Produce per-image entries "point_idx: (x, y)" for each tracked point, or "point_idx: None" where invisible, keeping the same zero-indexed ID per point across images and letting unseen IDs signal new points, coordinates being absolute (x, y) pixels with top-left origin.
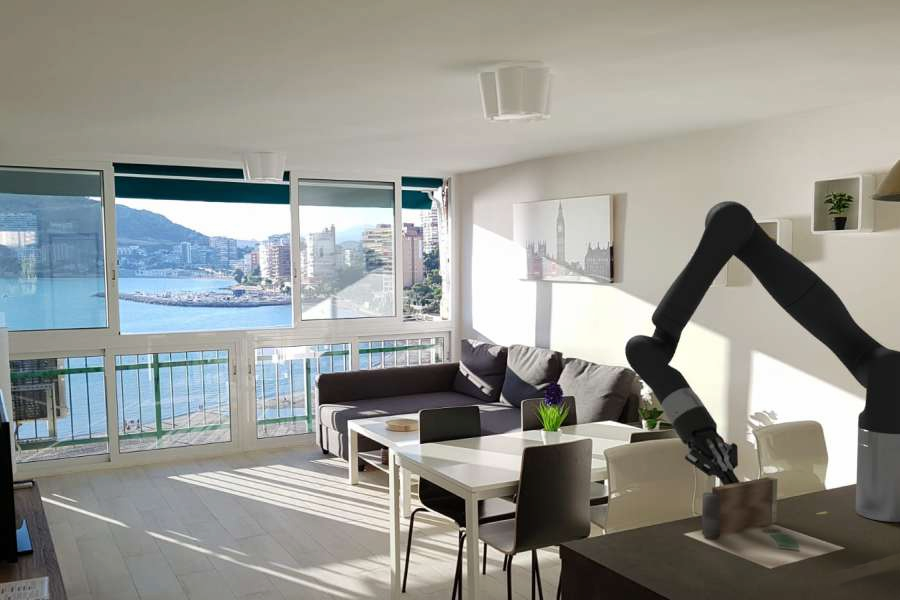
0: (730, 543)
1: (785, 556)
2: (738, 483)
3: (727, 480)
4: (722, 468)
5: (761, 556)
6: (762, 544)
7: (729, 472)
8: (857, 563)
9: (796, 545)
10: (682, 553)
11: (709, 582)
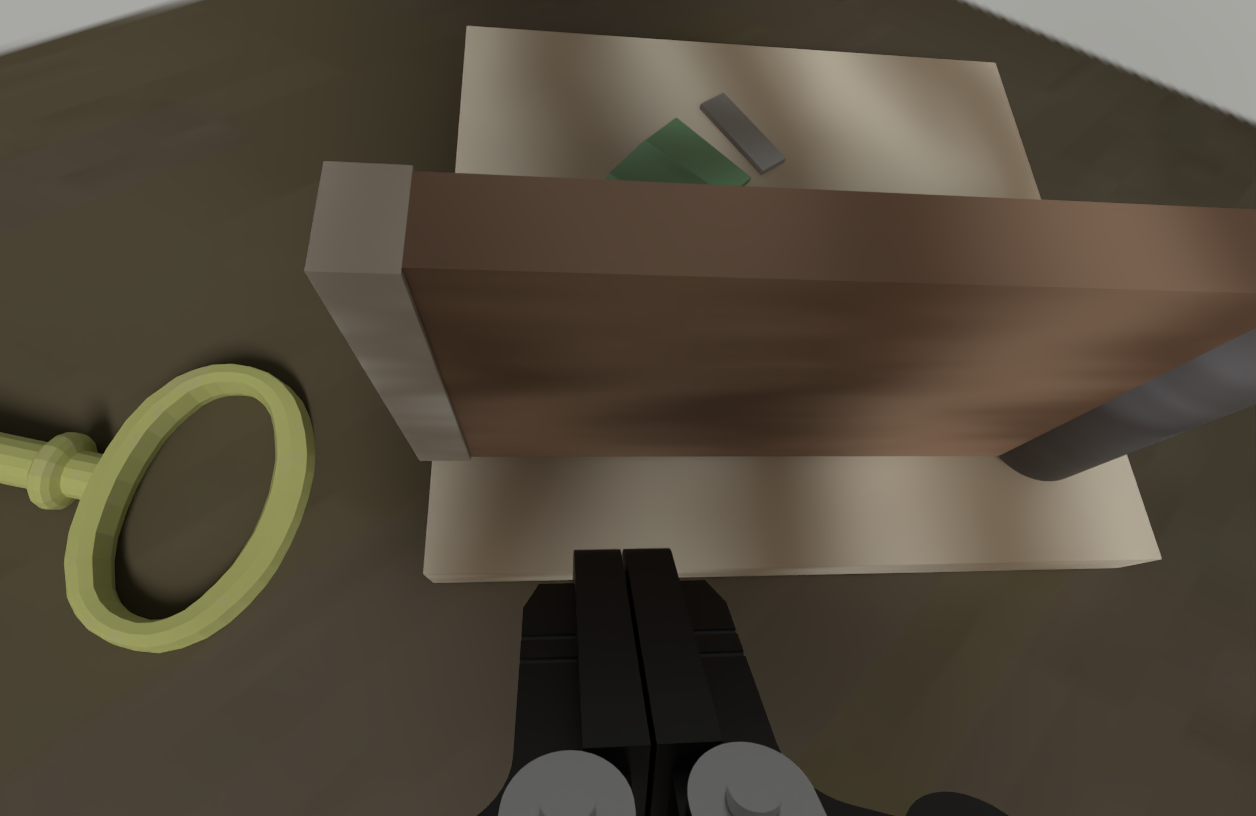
0: None
1: (831, 97)
2: (951, 259)
3: (743, 656)
4: (807, 802)
5: (938, 145)
6: None
7: (657, 728)
8: (496, 12)
9: (673, 131)
10: (1198, 443)
11: (1227, 176)
